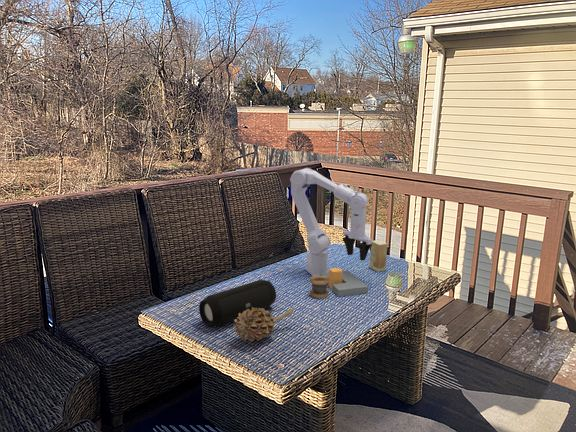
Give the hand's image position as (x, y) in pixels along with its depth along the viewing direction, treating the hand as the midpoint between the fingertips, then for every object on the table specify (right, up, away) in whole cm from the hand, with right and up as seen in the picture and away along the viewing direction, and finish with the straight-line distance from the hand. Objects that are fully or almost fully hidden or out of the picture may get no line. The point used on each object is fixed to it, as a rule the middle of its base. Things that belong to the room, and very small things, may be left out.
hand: (356, 257), depth 182 cm
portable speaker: (-43, -17, -30) cm, 56 cm away
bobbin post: (-16, -13, -13) cm, 24 cm away
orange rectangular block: (-9, -11, -5) cm, 15 cm away
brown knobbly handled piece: (-34, -20, -43) cm, 58 cm away
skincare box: (+11, -7, +14) cm, 19 cm away
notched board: (-6, -11, -4) cm, 13 cm away
